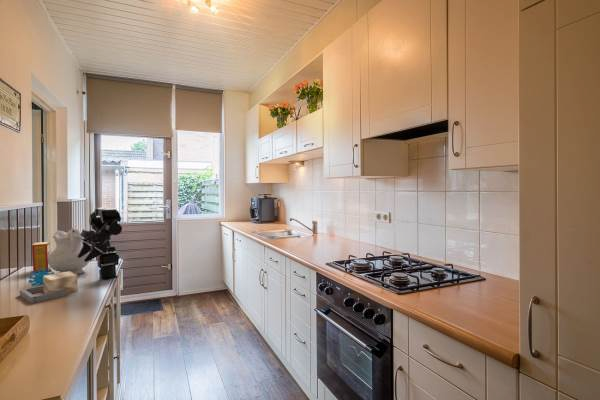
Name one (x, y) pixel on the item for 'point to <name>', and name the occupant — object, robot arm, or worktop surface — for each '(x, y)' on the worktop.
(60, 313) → the worktop surface
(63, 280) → the oak block
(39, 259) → the baking soda box
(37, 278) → the gear
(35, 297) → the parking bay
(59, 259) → the ceramic pitcher
